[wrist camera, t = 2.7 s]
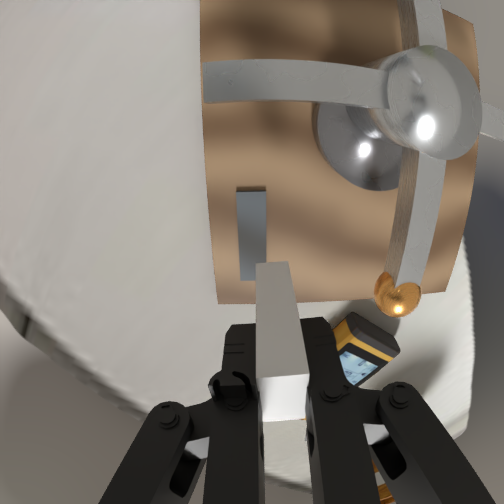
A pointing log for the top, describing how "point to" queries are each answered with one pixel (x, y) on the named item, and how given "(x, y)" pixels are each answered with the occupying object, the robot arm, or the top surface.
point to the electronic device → (363, 348)
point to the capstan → (381, 128)
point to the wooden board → (310, 156)
